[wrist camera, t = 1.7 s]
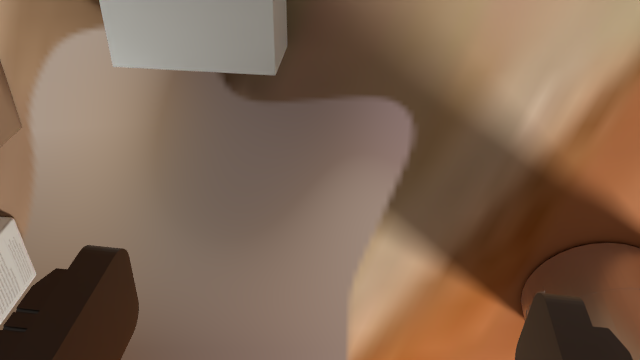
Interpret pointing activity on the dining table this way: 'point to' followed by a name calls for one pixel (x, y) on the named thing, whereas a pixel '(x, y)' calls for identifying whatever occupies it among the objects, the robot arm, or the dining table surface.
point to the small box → (12, 266)
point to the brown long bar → (7, 111)
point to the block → (197, 34)
